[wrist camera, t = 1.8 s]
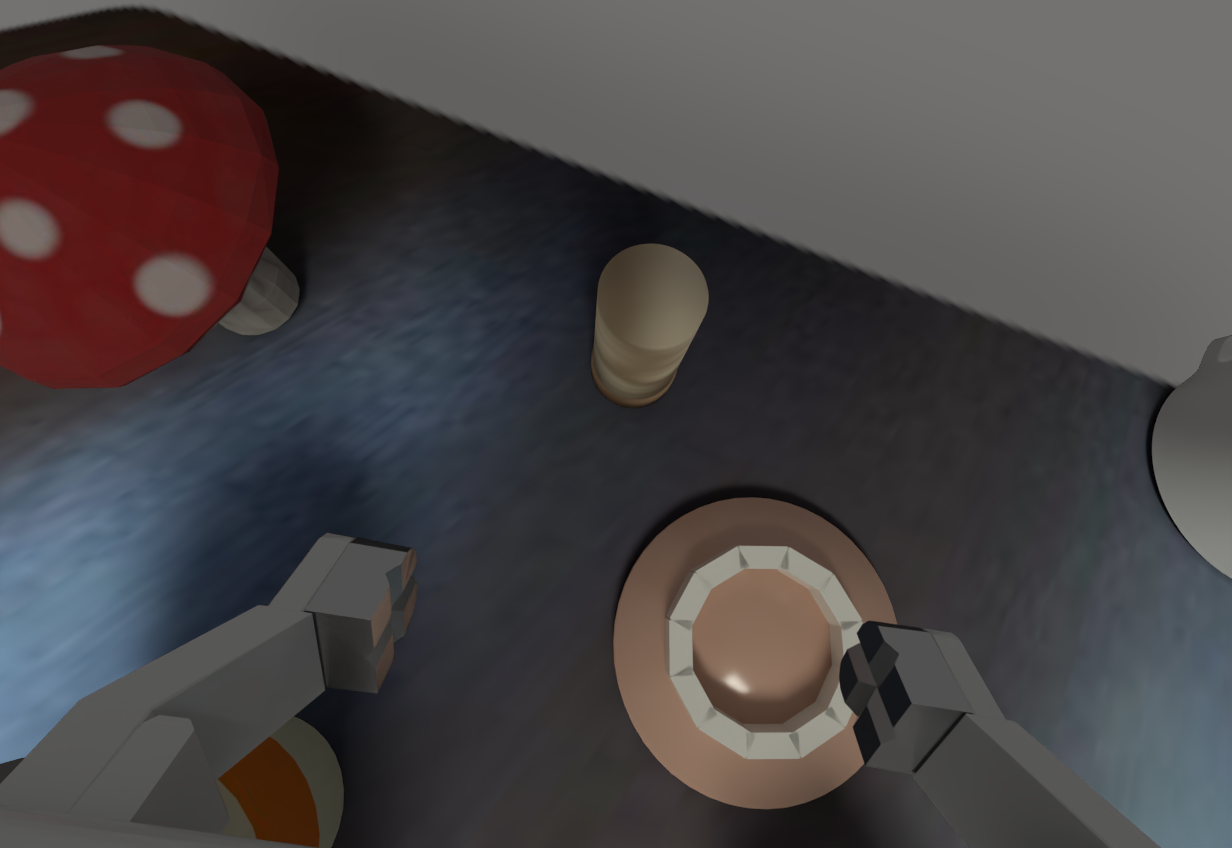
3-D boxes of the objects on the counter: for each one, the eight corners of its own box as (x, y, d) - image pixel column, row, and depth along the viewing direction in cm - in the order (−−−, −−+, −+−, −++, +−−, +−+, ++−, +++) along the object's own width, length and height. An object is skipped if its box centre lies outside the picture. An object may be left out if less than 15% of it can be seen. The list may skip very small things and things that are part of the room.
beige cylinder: (673, 330, 35) (709, 244, 26) (674, 409, 34) (712, 350, 24) (591, 327, 35) (596, 239, 25) (589, 406, 34) (593, 346, 24)
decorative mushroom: (252, 488, 31) (-31, 428, 17) (40, 339, 33) (-398, 163, 18) (428, 278, 35) (319, 79, 20) (230, 151, 36) (-5, -122, 22)
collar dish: (878, 501, 33) (900, 497, 31) (907, 800, 30) (934, 820, 27) (614, 495, 33) (617, 491, 30) (610, 804, 29) (613, 825, 27)
